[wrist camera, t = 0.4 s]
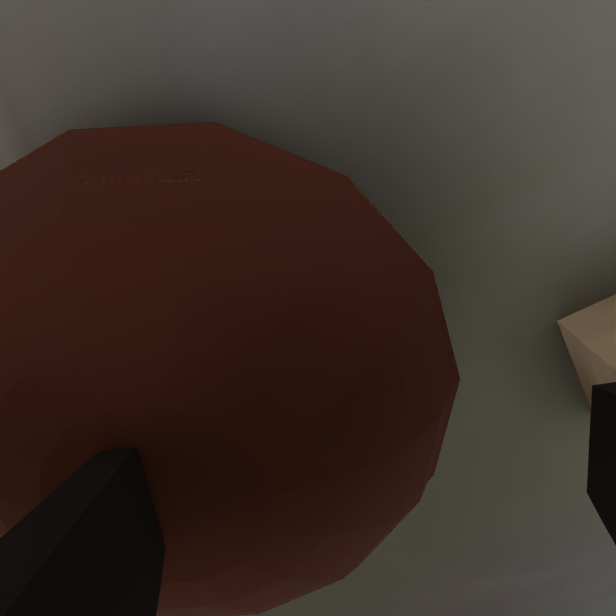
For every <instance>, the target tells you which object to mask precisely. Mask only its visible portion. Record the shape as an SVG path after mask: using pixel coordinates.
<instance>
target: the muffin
mask: <svg viewBox="0 0 616 616" xmlns="http://www.w3.org/2000/svg"><path fill="white" fill-rule="evenodd" d="M459 380H460V377H459V373H458V369H457V365H456V361H455V357H454V353H453V349H452V345H451V341H450V337H449V333H448V329H447V325H446V321H445V317H444V313H443V309H442V305H441V301H440V298H439V294H438V290H437V286H436V282H435V278H434V274H433V271H432V270H431V269H430V268H429V267H428V266H427V265H426V264H425V262H424V261H423V260H422V259H421V258H420V257H419V256H418V255H417V254H416V252H415V251H414V250H413V249H412V248H411V247H410V246H409V245H408V244H407V242H406V241H405V240H404V239H403V238H402V237H401V236H400V235H399V234H398V232H397V231H396V230H395V229H394V228H393V227H392V226H391V225H390V224H389V223H388V221H387V220H386V219H385V218H384V217H383V216H382V215H381V214H380V213H379V211H378V210H377V209H376V208H375V207H374V206H373V205H372V204H371V203H370V201H369V200H368V199H367V198H366V197H365V196H364V195H363V194H362V193H361V191H360V190H359V189H358V188H357V187H356V186H355V185H354V184H353V183H352V182H351V180H350V179H349V178H348V177H346V176H344V175H342V174H339V173H337V172H334V171H332V170H329V169H327V168H325V167H322V166H320V165H317V164H315V163H312V162H310V161H307V160H305V159H303V158H300V157H298V156H295V155H293V154H290V153H288V152H286V151H283V150H281V149H278V148H276V147H273V146H271V145H269V144H266V143H264V142H261V141H259V140H256V139H254V138H252V137H249V136H247V135H244V134H242V133H239V132H237V131H235V130H232V129H230V128H227V127H225V126H222V125H220V124H217V123H215V122H212V123H192V124H173V125H153V126H133V127H114V128H94V129H74V130H68V131H67V132H65V133H63V134H62V135H60V136H58V137H57V138H55V139H53V140H52V141H50V142H48V143H47V144H45V145H43V146H42V147H40V148H38V149H37V150H35V151H33V152H31V153H30V154H28V155H26V156H25V157H23V158H21V159H20V160H18V161H16V162H15V163H13V164H11V165H10V166H8V167H6V168H5V169H3V170H1V171H0V538H1V537H2V536H3V535H4V534H6V533H7V532H8V531H9V530H10V529H11V528H12V527H13V526H15V525H16V524H17V523H18V522H19V521H20V520H21V519H22V518H24V517H25V516H26V515H27V514H28V513H29V512H30V511H31V510H33V509H34V508H35V507H36V506H37V505H38V504H39V503H40V502H42V501H43V500H44V499H45V498H46V497H47V496H48V495H49V494H50V493H52V492H53V491H54V490H55V489H56V488H57V487H58V486H59V485H60V484H62V483H63V482H64V481H65V480H66V479H67V478H68V477H69V476H71V475H72V474H73V473H74V472H75V471H76V470H77V469H79V468H80V467H81V466H82V465H83V464H84V463H86V462H87V461H88V460H89V459H90V458H92V457H93V456H94V455H96V454H97V453H98V452H102V451H109V450H117V449H124V448H132V447H137V448H138V451H139V455H140V459H141V462H142V466H143V470H144V473H145V477H146V480H147V484H148V488H149V491H150V495H151V499H152V502H153V506H154V510H155V513H156V517H157V521H158V524H159V528H160V531H161V535H162V539H163V542H164V546H165V556H164V564H163V572H162V580H161V587H160V594H159V600H158V607H157V613H156V616H231V615H249V614H260V613H262V612H265V611H267V610H269V609H272V608H274V607H277V606H279V605H281V604H284V603H286V602H289V601H291V600H293V599H296V598H298V597H300V596H303V595H305V594H308V593H310V592H312V591H315V590H317V589H320V588H322V587H324V586H327V585H329V584H332V583H334V582H336V581H339V580H341V579H343V578H344V577H345V576H347V575H348V574H349V573H350V572H352V571H353V570H354V569H355V568H357V567H358V566H359V565H360V564H361V563H362V562H363V560H364V559H365V558H366V557H367V556H368V555H369V554H370V553H371V552H372V551H373V550H374V549H375V548H376V547H377V546H378V545H379V544H380V542H381V541H382V540H383V539H384V538H385V537H386V536H387V535H388V534H389V533H390V532H391V531H392V530H393V529H394V528H395V527H396V526H397V525H398V523H399V522H400V521H401V520H402V519H403V518H404V517H405V516H406V515H407V514H408V513H409V512H410V511H411V510H412V509H413V508H414V507H415V506H416V504H417V503H418V502H419V501H420V499H421V496H422V494H423V491H424V489H425V486H426V484H427V481H428V480H429V479H430V478H431V477H432V476H433V475H434V472H435V468H436V465H437V461H438V457H439V454H440V450H441V446H442V443H443V439H444V435H445V432H446V428H447V424H448V421H449V417H450V413H451V410H452V406H453V402H454V399H455V395H456V391H457V388H458V384H459Z"/></svg>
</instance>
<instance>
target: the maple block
mask: <svg viewBox="0 0 616 616" xmlns="http://www.w3.org/2000/svg"><path fill="white" fill-rule="evenodd" d="M557 322H558V325H559V327H560V330H561V333H562V335H563V338H564V341H565V343H566V346H567V349H568V351H569V354H570V357H571V359H572V362H573V365H574V367H575V370H576V373H577V375H578V378H579V381H580V383H581V386H582V389H583V391H584V394H585V397H586V399H587V402H588V405H589V407H590V410H591V397H592V385H597V384H604V383H612V382H616V294H614V295H612V296H610V297H608V298H606V299H604V300H601V301H599V302H597V303H595V304H593V305H590V306H588V307H586V308H584V309H582V310H580V311H577V312H575V313H573V314H571V315H569V316H567V317H564V318H562V319H560V320H558V321H557Z"/></svg>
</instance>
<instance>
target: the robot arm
mask: <svg viewBox="0 0 616 616" xmlns="http://www.w3.org/2000/svg"><path fill="white" fill-rule="evenodd" d="M587 494H588V495H589V497H590V499H591V501H592V503H593V505H594V507H595V509H596V510H597V512H598V514H599V516H600V518H601V520H602V522H603V524H604V525H605V527H606V529H607V530H608V532H609V534H610V536H611V537H612V539H613V541H614V543H615V544H616V382H612V383H604V384H597V385H592V397H591V418H590V439H589V459H588V480H587ZM164 556H165V546H164V542H163V539H162V535H161V531H160V528H159V524H158V521H157V517H156V513H155V510H154V506H153V502H152V499H151V495H150V491H149V488H148V484H147V480H146V477H145V473H144V470H143V466H142V462H141V459H140V455H139V451H138V448H137V447H132V448H124V449H117V450H109V451H102V452H98V453H97V454H96V455H94V456H93V457H92V458H90V459H89V460H88V461H87V462H86V463H84V464H83V465H82V466H81V467H80V468H79V469H77V470H76V471H75V472H74V473H73V474H72V475H71V476H69V477H68V478H67V479H66V480H65V481H64V482H63V483H62V484H60V485H59V486H58V487H57V488H56V489H55V490H54V491H53V492H52V493H50V494H49V495H48V496H47V497H46V498H45V499H44V500H43V501H42V502H40V503H39V504H38V505H37V506H36V507H35V508H34V509H33V510H31V511H30V512H29V513H28V514H27V515H26V516H25V517H24V518H22V519H21V520H20V521H19V522H18V523H17V524H16V525H15V526H13V527H12V528H11V529H10V530H9V531H8V532H7V533H6V534H4V535H3V536H2V537H1V538H0V616H156V613H157V607H158V600H159V594H160V587H161V580H162V572H163V564H164Z"/></svg>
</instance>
